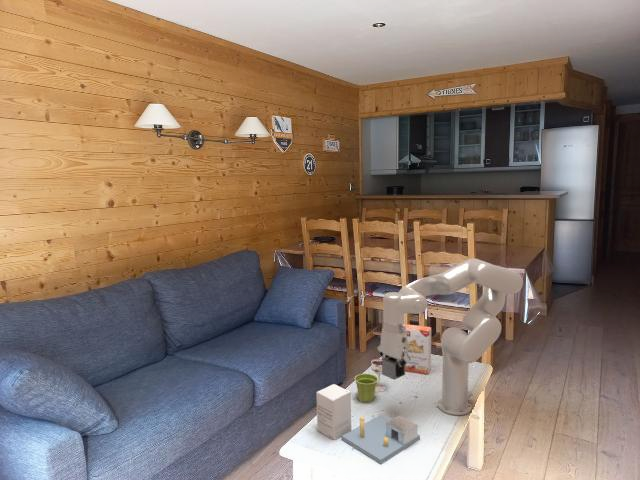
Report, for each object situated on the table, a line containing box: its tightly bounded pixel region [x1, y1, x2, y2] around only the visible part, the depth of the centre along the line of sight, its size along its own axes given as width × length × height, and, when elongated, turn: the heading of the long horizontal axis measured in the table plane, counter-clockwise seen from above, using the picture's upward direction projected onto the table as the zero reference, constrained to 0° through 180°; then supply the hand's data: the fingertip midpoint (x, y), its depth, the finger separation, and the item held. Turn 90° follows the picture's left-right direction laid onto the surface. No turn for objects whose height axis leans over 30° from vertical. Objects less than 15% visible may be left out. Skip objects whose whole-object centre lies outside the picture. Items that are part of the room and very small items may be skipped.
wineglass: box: [370, 358, 386, 393], centre depth 194 cm, size 7×7×12 cm
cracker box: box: [404, 323, 432, 375], centre depth 210 cm, size 14×6×21 cm, turn 67°
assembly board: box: [341, 414, 421, 465], centre depth 158 cm, size 20×18×9 cm
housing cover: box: [386, 415, 418, 445], centre depth 158 cm, size 7×8×4 cm
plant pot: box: [354, 373, 379, 403], centre depth 186 cm, size 9×9×9 cm
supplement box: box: [315, 383, 352, 441], centre depth 164 cm, size 9×9×15 cm
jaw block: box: [381, 356, 406, 381], centre depth 170 cm, size 6×6×6 cm
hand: (393, 372), depth 171 cm, fingers closed on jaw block, 6 cm apart
